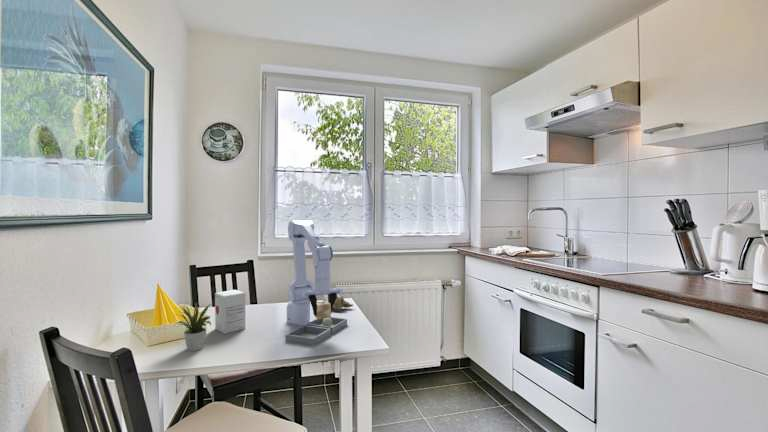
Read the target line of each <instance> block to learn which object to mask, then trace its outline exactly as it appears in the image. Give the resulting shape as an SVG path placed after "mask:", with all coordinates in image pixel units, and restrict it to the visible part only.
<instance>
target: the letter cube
mask: <svg viewBox="0 0 768 432" xmlns="http://www.w3.org/2000/svg"><path fill="white" fill-rule="evenodd" d="M316 309H317V316H314V317H315V319H322V318H331V317H332V313H331V304H330V303H329V302H328V301H317V305H316Z"/></svg>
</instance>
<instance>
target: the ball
mask: <svg viewBox="0 0 768 432" xmlns="http://www.w3.org/2000/svg"><path fill="white" fill-rule="evenodd" d="M322 324H323V326H329V327H330V326H331V325H332V320H331V319H330V318H324V319H323V321H322Z"/></svg>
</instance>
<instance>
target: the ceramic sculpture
mask: <svg viewBox="0 0 768 432" xmlns="http://www.w3.org/2000/svg"><path fill="white" fill-rule="evenodd" d="M336 295H337V299H336V300H335V302H334V305H333V308H332V310H333V311H335V312H339V311H342V309H343V308H345V309H346V308H350V307H353V306H354V304H351V303H349V302H348V301H346V300H345V299H344V296H342V294H336ZM323 301H328V295H323ZM323 301H322V302H323Z"/></svg>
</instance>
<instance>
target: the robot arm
mask: <svg viewBox="0 0 768 432" xmlns="http://www.w3.org/2000/svg"><path fill="white" fill-rule="evenodd" d="M287 232H288V234H287V236H288V240H289V241H291V243H292V247H293V249H292V250H293V252H292V253H293V263H294V264H293V265H294V280H292V281H291V282H290V284H289V286H288V293H287V294H288V299H289V302H288V304H287V306H286V321H285V323H286V324H292V325H301V326H303V325H306V324H307V323H309V322H311V321H313V320H314V319H312V318H311V309H312V311H313V315H314V317H315V316H317V309H316V305H317V302H318V298H317V296H324V295H328V302H329V303H330V304H331V314H332V311H333V309H332V308H333V305H334V302H335V300H336V299H337V295H342V293H343V288H341V287H331V261H332V260H333V256H334V251H333V247H332V246H331V245H330V244H329V245H328V244H326V243H325V242H324V240H323V239H322V237H321V236H319V234H317V235H316V232H315V224H314V222H313V220H312V219H308V220H305V219H304V220H302V219H301V220H299V219H298V220H296V219H295V220H293V219H291V220H289V222H288V226H287ZM306 241H307V242H306ZM305 242H306V243H307V246H308V248H309V249H310V252H311V257H312V264H313V267H314V285H313V282H312V281H311V280H309V279H308V278H307V266H306V265H307V263H306V262H307V261H306V250H305ZM336 294H337V295H336Z"/></svg>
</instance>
